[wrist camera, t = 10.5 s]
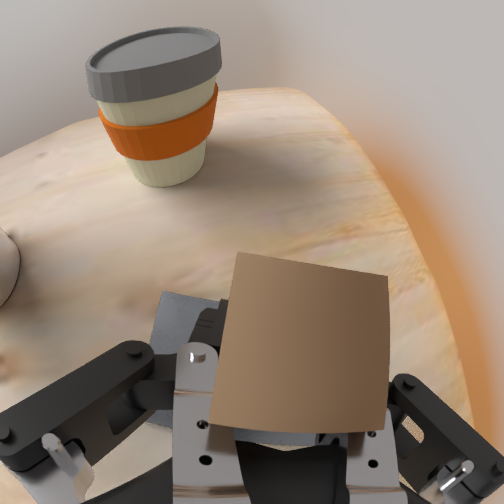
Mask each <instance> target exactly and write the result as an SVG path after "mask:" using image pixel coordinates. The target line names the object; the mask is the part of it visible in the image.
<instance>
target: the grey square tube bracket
mask: <svg viewBox="0 0 504 504" xmlns="http://www.w3.org/2000/svg"><path fill="white" fill-rule="evenodd" d="M219 303H220V302H217V301H211V300H206V299H201V298H195V297H190V296H185V295H180V294H175V293H170V292H166V291H162V295H161V299H160V303H159V307H158V311H157V315H156V319H155V323H154V327H153V331H152V336H151V340H150V344H149V345H150V346H151V347H152V349H153V351H154V354H174V353H177V351H178V349H179V348H180V347H181V346H182V345H184V344H186V343H188V341H189V338H190V336H191V333H192V331H193V329H194V326H195V324H196V321H197V320H198V317H199V314H200V312H201V311H203V310H204V309H206V308H207V307H208V308H214V309H218V306H219ZM146 421H147V422H150V423H154V424H157V425H161V426H165V427H169V428H173V410H156V412H155V413H154V414H153V415H152V416H151V417H150V418H149V419H147V420H146ZM233 433H234V438H235V440H240V441H248V442H253V443H263V444H276V445H297V446H314V445H315V438H316V433H291V432H274V431H263V430H253V429H244V428H237V427H233Z"/></svg>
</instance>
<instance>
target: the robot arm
mask: <svg viewBox="0 0 504 504" xmlns="http://www.w3.org/2000/svg"><path fill="white" fill-rule="evenodd" d="M19 265H20V256H19V251H18V248H17V246H16V244H15V243H14V242H13V241H12V240H11V239H10V238H9V237H8V236H7V234H6V233H5V232H4V230H3V229H2V228H1V227H0V306H1V305H2V304H3V303H4V302H5V301H6V300H7V298H8V297H9V295H10V294H11V292H12V290H13V288H14V286H15V283H16V280H17V276H18V272H19ZM228 303H229V300H225V299H221V300H220V303H219V306H218V309H214V308H208V307H207V308H206V309H204V310H203V311H201V312H200V314H199V317H198V320H197V321H196V324H195V326H194V329H193V331H192V333H191V336H190V338H189V341H188V343H186V344H184V345H182V346H181V347H180V348H179V349H178V351H177V353H174V354H154V351H153V349H152V347H151V346H150V345H148V344H147V343H145V342H142V341H136V340H131V341H125V342H122V343H120V344H119V345H117V346H115V347H114V348H112V349H110V350H109V351H107V352H105V353H103V354H102V355H100V356H98V357H97V358H95V359H93V360H92V361H90V362H88V363H86V364H85V365H83V366H81V367H80V368H78V369H76V370H74V371H73V372H71V373H69V374H68V375H66V376H64V377H62V378H61V379H59V380H57V381H56V382H54V383H52V384H50V385H49V386H47V387H45V388H43V389H42V390H40V391H38V392H37V393H35V394H33V395H31V396H30V397H28V398H26V399H24V400H23V401H21V402H19V403H17V404H16V405H14V406H12V407H10V408H8V409H7V410H5V411H3V412H1V413H0V461H1V463H2V464H3V465H4V466H5V467H6V468H7V469H8V470H9V471H10V472H11V473H12V474H13V475H14V476H15V477H16V478H17V479H18V480H19V481H20V482H21V484H22V485H23V486H24V488H25V489H26V490H27V491H28V493H29V494H30V495H31V496H32V498H33V499H34V500H35V501H36V502H37V504H479V503H480V502H481V501H483V500H484V499H486V498H487V497H488V496H489V495H491V494H492V493H493V492H494V491H496V490H497V489H498V488H499V487H500V486H502V485H503V484H504V457H503V456H502V455H501V454H500V453H499V452H498V451H497V450H496V449H495V448H494V447H493V446H491V445H490V444H489V443H488V442H487V441H486V440H485V439H484V438H483V437H482V436H481V435H479V434H478V433H477V432H476V431H475V430H474V429H473V428H472V427H471V426H470V425H469V424H468V423H467V422H465V421H464V420H463V419H462V418H461V417H460V416H459V415H458V414H457V413H456V412H454V411H453V410H452V409H451V408H450V407H449V406H448V405H447V404H446V403H444V402H443V401H442V400H441V399H440V398H439V397H438V396H437V395H436V394H434V393H433V392H432V391H431V390H430V389H429V388H428V387H427V386H426V385H424V384H423V383H422V382H421V381H420V380H419V379H417V378H416V377H414V376H412V375H410V374H398V375H396V376H395V377H394V379H393V381H392V382H389V384H388V398H387V409H386V418H385V427H384V430H377V431H365V432H350V433H316V438H315V445H314V446H311V447H307V448H302V449H296V450H291V451H281V450H277V449H274V448H270V447H266V446H263V445H259V444H256V443H253V442H248V441H240V440H235V438H234V433H233V427H229V426H223V425H217V424H211V423H208V421H209V415H210V408H211V402H212V396H213V390H214V384H215V378H216V372H217V366H218V360H219V354H220V348H221V343H222V337H223V331H224V325H225V320H226V314H227V308H228ZM156 410H173V457H171V458H170V459H168V460H166V461H165V462H163V463H161V464H160V465H158V466H156V467H154V468H153V469H151V470H149V471H147V472H146V473H144V474H142V475H140V476H138V477H136V478H134V479H132V480H131V481H129V482H127V483H125V484H123V485H121V486H119V487H116V488H114V489H112V490H110V491H108V492H106V493H104V494H101V495H99V496H97V497H95V498H92V499H90V500H87V501H85V494H86V491H87V489H88V488H89V487H90V486H91V485H92V483H93V480H94V472H93V469H92V466H93V465H94V464H96V463H97V462H98V461H99V460H101V459H102V458H103V457H104V456H105V455H107V454H108V453H109V452H110V451H111V450H113V449H114V448H115V447H116V446H117V445H119V444H120V443H121V442H122V441H123V440H124V439H126V438H127V437H128V436H129V435H130V434H131V433H133V432H134V431H135V430H136V429H137V428H138V427H139V426H141V425H142V424H143V423H144V422H145V421H146V420H147V419H149V418H150V417H151V416H152V415H153V414H154V413H155V412H156ZM407 415H408V416H409V417H410V418H411V419H412V420H413V421H414V422H415V423H416V424H417V425H418V426H419V427H420V428H421V429H422V431H423V433H424V440H423V441H422V443H421V444H420V443H419V442H418V441H417V440H416V439H415V438H414V437H413V436H412V435H411V434H410V433H409V432H408V430H407V429H406V428H405V427H404V426H403V425H402V422H403V421H404V420H405V418H406V417H407ZM398 471H399V472H400V474H401V475H402V476H403V477H404V478H405V480H406V481H407V482H408V483H409V484H410V485H411V486H412V488H413V489H414V490H415V491H416V492H417V493H418V494H417V493H415V492H414V491H412V490H411V489H410V488H408V487H407V486H405V485H404V484H403V483H401V482H400V481H399V474H398Z"/></svg>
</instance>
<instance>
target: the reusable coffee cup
mask: <svg viewBox="0 0 504 504" xmlns="http://www.w3.org/2000/svg"><path fill="white" fill-rule="evenodd" d="M221 66H222V59H221V48H220V38H219V36H218V34H216V33H215V32H213V31H211V30H208V29H203V28H197V27H167V28H158V29H152V30H147V31H143V32H139V33H136V34H132V35H129V36H126V37H123V38H121V39H118V40H116V41H114V42H111V43H109V44H107V45H106V46H104V47H103V48H101V49H99V50H98V51H96V52H95V53H94V54H93V55H91V56H90V58H89V59H88V60H87V62H86V74H87V82H88V89H89V93H90V95H91V97H93V98H94V99H96V100H97V102H98V104H99V107H100V108H99V117H100V119H101V121H102V123H103V125H104V127H105V129H106V131H107V133H108V135H109V137H110V138H111V140H112V142H113V144H114V146H115V148H116V150H117V151H118V152H119V153H120V154H121V155H123V156H124V157H125V159H126V161H127V163H128V165H129V167H130V168H131V170H132V172H133V174H134V176H135V177H136V179H137V180H139V181H140V182H141V183H143V184H145V185H148V186H152V187H168V186H174V185H177V184H180V183H182V182H184V181H186V180H188V179H190V178H191V177H193V176H194V175H195V174H196V173H197V172H198V171H199V170H200V168H201V167H202V165H203V162H204V157H205V149H206V141H207V136H208V135H209V134H210V132H211V129H212V126H213V120H214V113H215V107H216V101H217V95H218V86H217V83H216V82H215V81H216V75H217V73H218V72H219V70H220V69H221Z"/></svg>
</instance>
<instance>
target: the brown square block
mask: <svg viewBox="0 0 504 504" xmlns="http://www.w3.org/2000/svg"><path fill="white" fill-rule="evenodd" d="M389 363H390V312H389V291H388V277H387V276H383V275H377V274H371V273H365V272H358V271H352V270H346V269H340V268H334V267H327V266H321V265H315V264H309V263H303V262H296V261H290V260H284V259H278V258H272V257H266V256H260V255H253V254H247V253H241V252H238V253H237V258H236V264H235V269H234V275H233V280H232V286H231V291H230V297H229V303H228V308H227V314H226V320H225V325H224V331H223V337H222V343H221V348H220V354H219V360H218V366H217V372H216V378H215V384H214V390H213V396H212V402H211V408H210V415H209V421H208V423H211V424H217V425H223V426H229V427H237V428H244V429H253V430H263V431H274V432H291V433H350V432H365V431H377V430H384V427H385V418H386V409H387V398H388V384H389Z"/></svg>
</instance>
